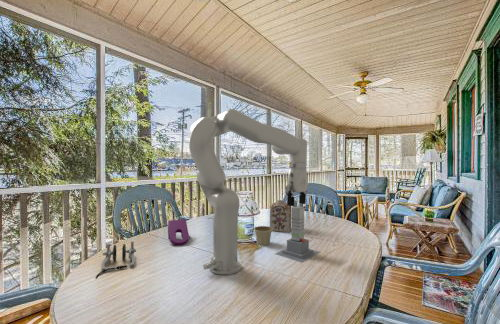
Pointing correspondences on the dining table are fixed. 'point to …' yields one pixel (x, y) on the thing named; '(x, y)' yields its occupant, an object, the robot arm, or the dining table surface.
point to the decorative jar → (280, 216)
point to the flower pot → (263, 235)
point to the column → (297, 223)
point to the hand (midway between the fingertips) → (296, 204)
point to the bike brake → (109, 253)
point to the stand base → (298, 250)
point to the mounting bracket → (176, 227)
